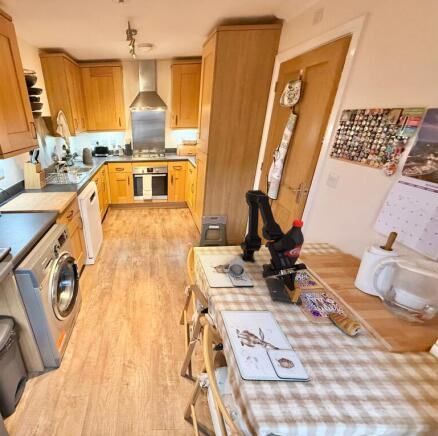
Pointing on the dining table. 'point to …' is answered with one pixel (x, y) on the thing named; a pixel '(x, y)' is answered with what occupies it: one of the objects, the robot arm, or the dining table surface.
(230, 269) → the ceramic mug
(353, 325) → the pastry
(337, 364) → the dining table surface
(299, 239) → the cola bottle
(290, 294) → the tan rectangular block
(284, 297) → the panel
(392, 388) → the dining table surface
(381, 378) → the dining table surface
